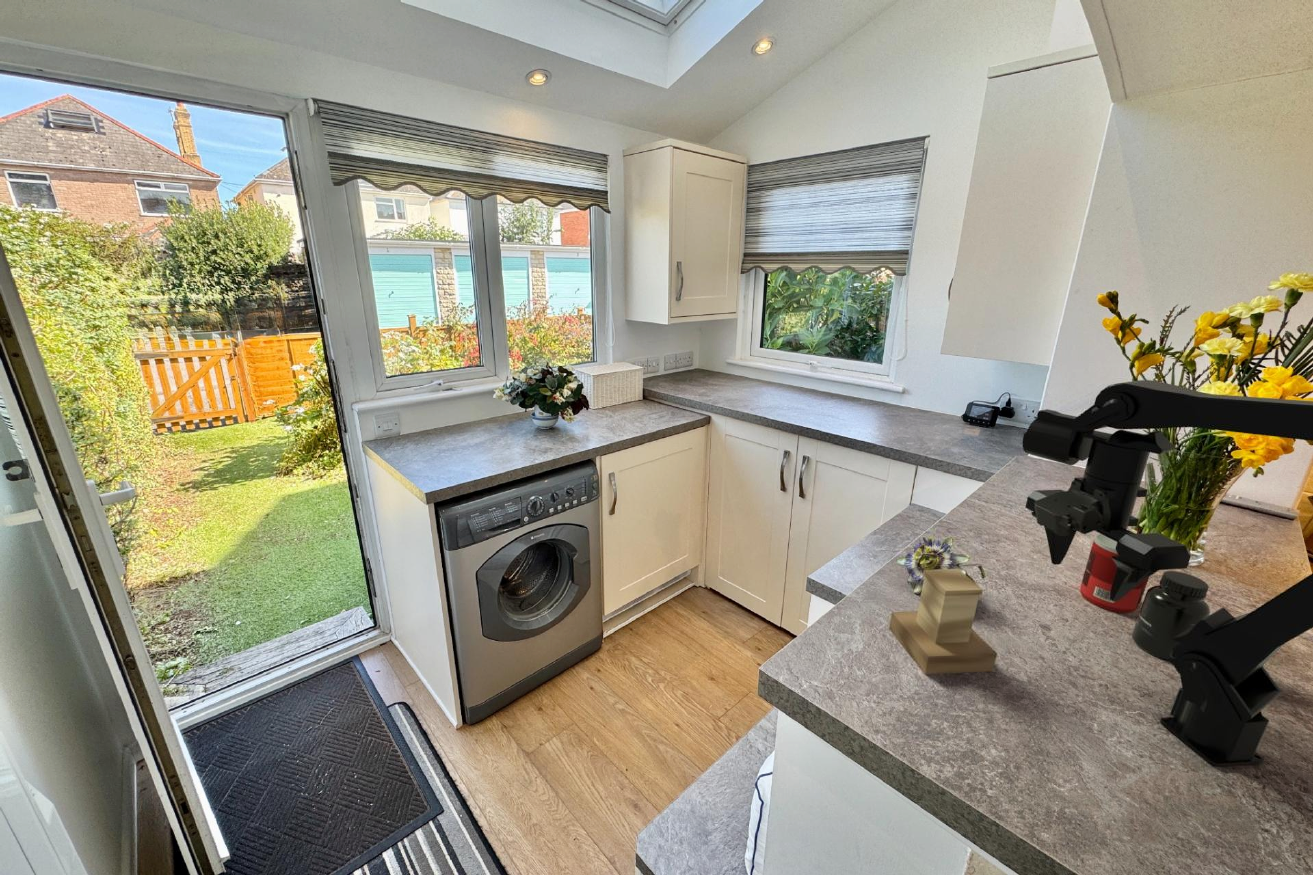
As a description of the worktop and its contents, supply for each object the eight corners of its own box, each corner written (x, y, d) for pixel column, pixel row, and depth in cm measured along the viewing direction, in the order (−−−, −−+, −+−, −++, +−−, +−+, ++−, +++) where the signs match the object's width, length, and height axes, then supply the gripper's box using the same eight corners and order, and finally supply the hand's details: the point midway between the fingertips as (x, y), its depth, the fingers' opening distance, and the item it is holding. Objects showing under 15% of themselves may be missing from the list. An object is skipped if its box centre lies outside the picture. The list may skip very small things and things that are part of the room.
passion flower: (914, 619, 94) (881, 557, 96) (949, 591, 99) (917, 532, 101) (969, 618, 84) (932, 549, 86) (1005, 588, 89) (969, 523, 91)
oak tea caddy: (970, 642, 75) (982, 589, 73) (934, 644, 75) (945, 590, 72) (947, 619, 80) (958, 568, 78) (914, 620, 80) (923, 569, 77)
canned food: (1149, 617, 87) (1169, 558, 83) (1094, 610, 88) (1112, 552, 85) (1120, 591, 94) (1137, 535, 91) (1069, 585, 95) (1085, 530, 92)
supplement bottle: (1120, 638, 81) (1142, 570, 78) (1147, 629, 84) (1170, 562, 80) (1174, 668, 75) (1201, 596, 72) (1202, 657, 77) (1230, 587, 74)
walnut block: (992, 671, 74) (997, 653, 73) (925, 674, 73) (928, 656, 72) (949, 625, 84) (952, 609, 83) (889, 628, 83) (891, 612, 82)
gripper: (1002, 455, 77) (982, 550, 81) (1125, 507, 59) (1090, 626, 63) (1072, 453, 78) (1048, 547, 82) (1212, 504, 60) (1172, 621, 65)
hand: (1083, 581), depth 73 cm, fingers open, 9 cm apart
